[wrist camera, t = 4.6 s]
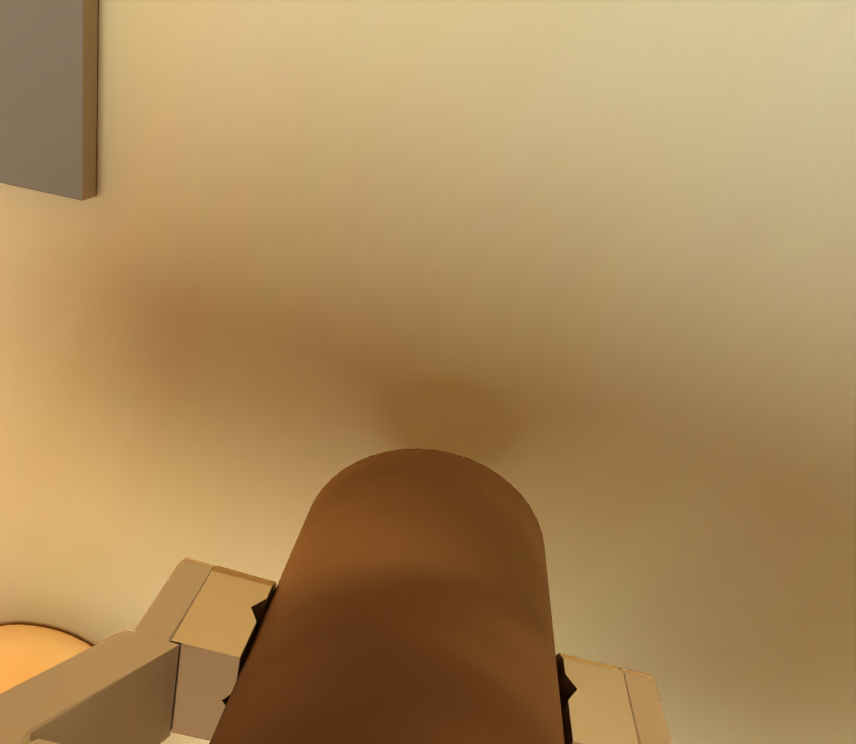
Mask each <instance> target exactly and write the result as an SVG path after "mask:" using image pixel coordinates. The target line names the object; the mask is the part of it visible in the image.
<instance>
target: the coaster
mask: <svg viewBox="0 0 856 744" xmlns="http://www.w3.org/2000/svg"><path fill="white" fill-rule="evenodd" d="M97 43H98V0H0V183H4V184H9V185H13V186H18V187H23V188H27V189H32V190H36V191H41V192H46V193H50V194H55V195H59V196H64V197H69V198H73V199H78V200H86V199H89V198H92V197H95V196H96V142H97Z"/></svg>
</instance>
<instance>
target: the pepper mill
mask: <svg viewBox="0 0 856 744" xmlns="http://www.w3.org/2000/svg"><path fill="white" fill-rule="evenodd" d="M209 744H565V742H564V732H563V722H562V713H561V703H560V693H559V683H558V674H557V664H556V654H555V645H554V635H553V625H552V615H551V606H550V596H549V586H548V576H547V567H546V557H545V547H544V541H543V536H542V532H541V529H540V526H539V523H538V521H537V518H536V517H535V515H534V513H533V511H532V509H531V507H530V506H529V505H528V503H527V502H526V501H525V499H524V498H523V497H522V495H521V494H520V493H519V492H518V491H517V490H516V489H515V488H514V487H513V486H512V485H511V484H510V483H509V482H507V481H506V480H505V479H504V478H502V477H501V476H500V475H498V474H497V473H495V472H494V471H492V470H490V469H489V468H487V467H485V466H484V465H481V464H479V463H477V462H475V461H472V460H470V459H468V458H465V457H462V456H458V455H455V454H452V453H447V452H442V451H437V450H426V449H402V450H395V451H389V452H384V453H380V454H377V455H373V456H370V457H367V458H365V459H363V460H360V461H358V462H355V463H354V464H352V465H350V466H349V467H347V468H345V469H344V470H342V471H341V472H340V473H338V474H337V475H336V476H335V477H333V478H332V479H331V480H330V481H329V482H328V483H327V484H326V485H325V486H324V488H323V489H322V490H321V491H320V493H319V494H318V496H317V497H316V499H315V500H314V502H313V504H312V506H311V509H310V511H309V513H308V515H307V518H306V520H305V522H304V525H303V527H302V529H301V532H300V534H299V536H298V539H297V541H296V543H295V546H294V548H293V550H292V553H291V555H290V557H289V560H288V562H287V564H286V566H285V569H284V571H283V573H282V576H281V578H280V580H279V583H278V585H277V587H276V590H275V592H274V595H273V597H272V599H271V602H270V604H269V606H268V609H267V611H266V613H265V616H264V618H263V620H262V623H261V625H260V627H259V629H258V632H257V634H256V636H255V639H254V641H253V644H252V646H251V648H250V651H249V653H248V655H247V658H246V660H245V662H244V665H243V667H242V669H241V672H240V674H239V676H238V679H237V681H236V683H235V685H234V688H233V690H232V692H231V695H230V697H229V699H228V701H227V704H226V706H225V708H224V711H223V713H222V715H221V718H220V720H219V722H218V725H217V727H216V729H215V732H214V734H213V736H212V739H211V741H210V743H209Z"/></svg>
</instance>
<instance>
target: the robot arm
mask: <svg viewBox="0 0 856 744" xmlns="http://www.w3.org/2000/svg"><path fill="white" fill-rule="evenodd" d="M275 590H276V582H274V581H271V580H267V579H263V578H260V577H256V576H253V575H249V574H246V573H242V572H238V571H235V570H231V569H228V568H224V567H221V566H214V565H210V564H207V563H203V562H200V561H196V560H193V559H190V558H185V559H184V560H182V561H181V562H180V563H179V564H178V565H177V567H176V568H175V570H174V571H173V573H172V574H171V576H170V577H169V579H168V580H167V582H166V583H165V585H164V587H163V588H162V590H161V591H160V593H159V594H158V596H157V597H156V599H155V600H154V602H153V603H152V605H151V606H150V608H149V609H148V611H147V612H146V614H145V615H144V617H143V618H142V620H141V621H140V623H139V624H138V626H137V628H136V629H135V631H134V632H129V631H122V632H120V633H118V634H116V635H114V636H112V637H110V638H108V639H106V640H104V641H102V642H100V643H98V644H96V645H94V646H92V647H90V648H89V649H87V650H85V651H83V652H81V653H79V654H77V655H75V656H73V657H71V658H69V659H67V660H65V661H63V662H61V663H59V664H57V665H55V666H53V667H52V668H50V669H48V670H46V671H44V672H42V673H40V674H38V675H36V676H34V677H32V678H30V679H28V680H26V681H24V682H22V683H20V684H18V685H16V686H15V687H13V688H11V689H9V690H7V691H5V692H3V693H1V694H0V744H160V743H161V742H162V741H164V740H165V739H166V738H167V737H169V736H170V732H173V733H177V734H182V735H186V736H191V737H196V738H200V739H205V740H209V741H211V739H212V736H213V734H214V732H215V729H216V727H217V725H218V722H219V720H220V718H221V715H222V713H223V711H224V708H225V706H226V704H227V701H228V699H229V697H230V695H231V692H232V690H233V688H234V685H235V683H236V681H237V679H238V676H239V674H240V672H241V669H242V667H243V665H244V662H245V660H246V658H247V655H248V653H249V651H250V648H251V646H252V644H253V641H254V639H255V636H256V634H257V632H258V629H259V627H260V625H261V623H262V620H263V618H264V616H265V613H266V611H267V609H268V606H269V604H270V602H271V599H272V597H273V595H274V592H275ZM556 664H557V674H558V683H559V693H560V703H561V713H562V722H563V732H564V742H565V744H671V740H670V736H669V733H668V729H667V725H666V721H665V718H664V714H663V710H662V706H661V703H660V699H659V695H658V692H657V688H656V684H655V681H654V679H653V678H652V677H651V675H649V674H645V673H641V672H636V671H632V670H628V669H624V668H617V667H615V666H611V665H607V664H602V663H598V662H594V661H590V660H586V659H582V658H578V657H574V656H569V655H565V654H561V653H558V654H557V655H556Z"/></svg>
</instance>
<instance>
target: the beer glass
mask: <svg viewBox="0 0 856 744" xmlns="http://www.w3.org/2000/svg"><path fill="white" fill-rule="evenodd" d="M90 647H92V646H91V645H89V644H88V643H86V642H84V641H82V640H80V639H78V638H76V637H74V636H72V635H69V634H67V633H64V632H61V631H58V630H54V629H51V628H46V627H41V626H35V625H24V624H13V625H2V626H0V694H1V693H3V692H5V691H7V690H9V689H11V688H13V687H15V686H16V685H18V684H20V683H22V682H24V681H26V680H28V679H30V678H32V677H34V676H36V675H38V674H40V673H42V672H44V671H46V670H48V669H50V668H52V667H53V666H55V665H57V664H59V663H61V662H63V661H65V660H67V659H69V658H71V657H73V656H75V655H77V654H79V653H81V652H83V651H85V650H87V649H89V648H90Z"/></svg>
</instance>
